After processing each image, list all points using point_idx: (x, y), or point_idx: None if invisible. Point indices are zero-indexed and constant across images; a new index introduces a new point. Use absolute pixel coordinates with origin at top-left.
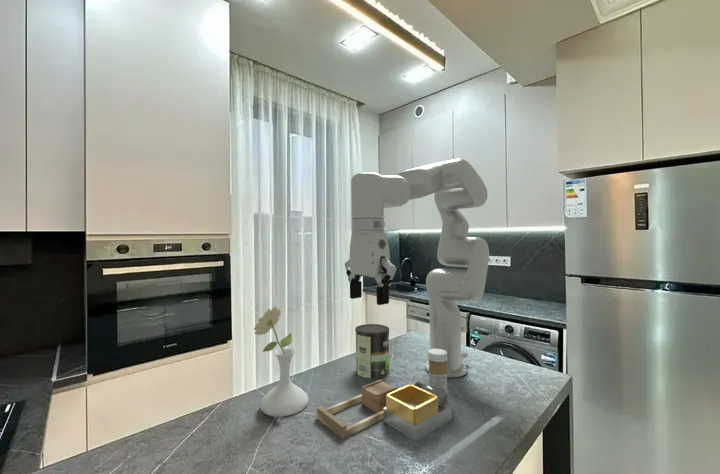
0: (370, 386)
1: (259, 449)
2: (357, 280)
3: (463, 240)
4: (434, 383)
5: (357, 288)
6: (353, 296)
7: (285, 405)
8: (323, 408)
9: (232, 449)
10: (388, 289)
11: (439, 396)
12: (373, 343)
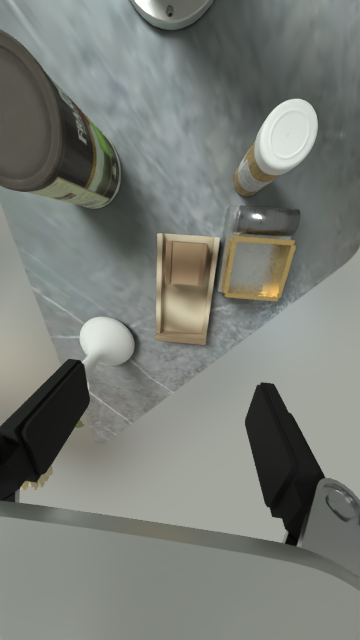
0: (171, 271)
1: (158, 380)
2: (15, 460)
3: None
4: (262, 186)
5: (59, 416)
6: (85, 403)
7: (125, 356)
8: (161, 336)
9: (144, 392)
10: (303, 445)
11: (293, 232)
12: (73, 175)
